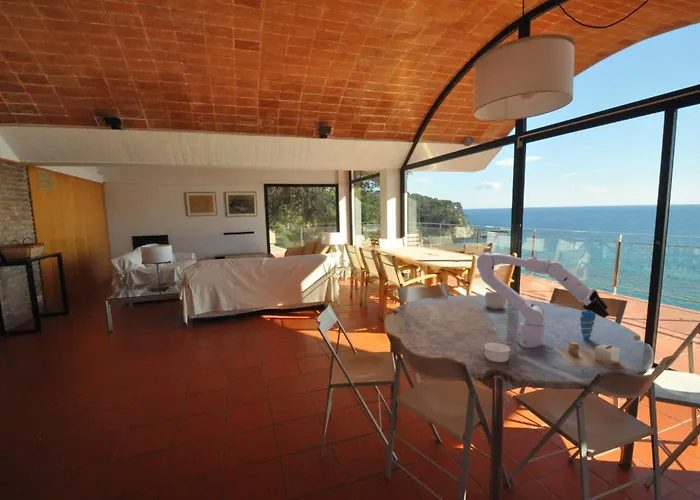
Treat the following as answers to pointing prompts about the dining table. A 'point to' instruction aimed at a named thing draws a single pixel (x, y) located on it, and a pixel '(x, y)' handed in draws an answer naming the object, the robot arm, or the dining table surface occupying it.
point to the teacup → (494, 300)
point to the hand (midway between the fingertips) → (605, 312)
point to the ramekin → (496, 352)
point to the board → (584, 357)
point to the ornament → (587, 323)
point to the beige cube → (607, 354)
